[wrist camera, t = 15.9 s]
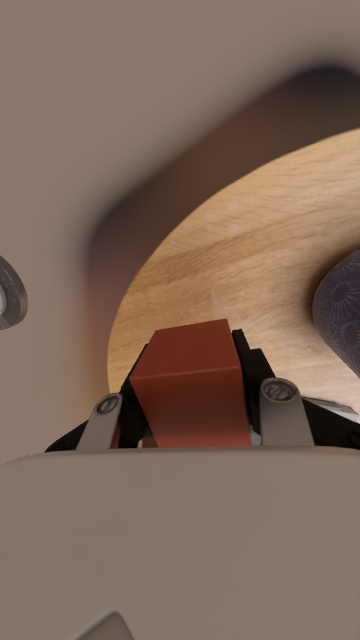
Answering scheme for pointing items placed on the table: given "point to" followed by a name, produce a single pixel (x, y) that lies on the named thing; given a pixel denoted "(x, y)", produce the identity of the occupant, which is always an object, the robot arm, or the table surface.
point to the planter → (340, 310)
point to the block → (193, 387)
